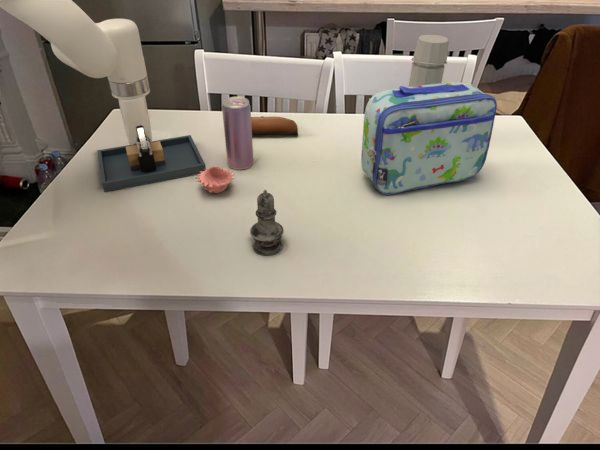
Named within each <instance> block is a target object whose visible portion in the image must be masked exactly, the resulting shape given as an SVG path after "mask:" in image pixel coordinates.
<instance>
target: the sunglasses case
mask: <svg viewBox="0 0 600 450" xmlns="http://www.w3.org/2000/svg"><path fill="white" fill-rule="evenodd" d="M251 125H252V135H253V134H255V135H269V134H270V135H288V134H289V135H291V134H292V135H296V136H299V134H298V129H299V128H298V124H297V123H296V122H295V120H293V119H289V118H287V117H283V116H264V115H263V116H251Z"/></svg>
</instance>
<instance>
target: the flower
mask: <svg viewBox="0 0 600 450" xmlns="http://www.w3.org/2000/svg"><path fill="white" fill-rule="evenodd" d="M205 170H206V171H203V172H201V171H199V172H201V174H196V175H195V176H197V177H195V179H196V183H197V182H198V183H199V185H200V186H203V188H204V190H207V192H209V193H211V194H220V193H222V192H223V191H225V190H226V189H227V186H228V185H229V183H231V182H232V180H234V178H233V177H234V176H235V174H233V171H230V168H227V169H225V167H224V166H223V167H220V166H210V167H208V168H206V169H205Z"/></svg>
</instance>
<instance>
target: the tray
mask: <svg viewBox="0 0 600 450" xmlns="http://www.w3.org/2000/svg"><path fill="white" fill-rule="evenodd" d="M157 141H160V143H161V146H162V149H163V153H164V159H165V164H166V165H162V166H156V170H153V171H148V172H141V169H140V170H134V171H131V168H130V164H129V160H128V155H127V151H126V147H127V146H133V145H134V144H132V145H130V144H127V145H121V146H115V147H110V148H104V149H97V150H96V151H97V158H98V167H99V173H100V181H101V186H102V189H103V192H104V193H107V192H113V191H118V190H123V189H128V188H134V187H139V186H143V185H149V184H154V183H159V182H165V181H169V180H175V179H181V178H184V177H191V176H197V175H196V174H201V172H203V171H206V170H205V169H207V166H206V163H205V161H204V159H203V157H202V155H201V153H200V151H199V149H198V147H197V145H196V143H195V141H194V138H193V137H192V135H191V134H188V135H181V136H176V137H170V138H163V139H158V140H152V141H151V142H157ZM151 142H150V143H151ZM199 171H201V172H199Z"/></svg>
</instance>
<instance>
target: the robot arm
mask: <svg viewBox="0 0 600 450" xmlns="http://www.w3.org/2000/svg"><path fill="white" fill-rule="evenodd" d="M0 8H1V9H2V10H4V11H5V12H7V13H8V14H9V15H10V16H13V17H14V18H15V19H17V20H19V21H20V22H23V23H24V24H25V25H26V26H29V27H30V28H32V29H33V30H34V31H36V32H37V33H38V34H39V35H40V36H42V37H43V38H44V39H45V40H46V41H48V42H49V43H50V47H51V51H52V52H53V55H55V57H56V58H57V59H58V60H60V62H62V63H63V64H65V65H66V66H69V67H70V68H72V69H73V70H75V71H77V72H80V73H81V74H83V75H84V76H87V77H89V78H93V79H104V78H106V77H107V80H108V85H109V89H110V93H111V96H112V97H113V98H114V99H117V100H118V105H119V110H120V115H121V119H122V123H123V127H124V130H125V135H126V139H127V143H128V145H133V144H134V145H137V150H138V154H139V155H138V159H139V164H140V168H141V172H148V171H153V170H156V165H155V160H154V155H153V153H152V151H151V146H150V142H151V141H153V135H152V127H151V120H150V113H149V110H148V104H147V99H146V96H148V95H149V94H150V92H151V89H150V84H149V79H148V73H147V72H148V71H147V68H146V63H145V58H144V53H143V49H142V48H143V46H142V42H141V37H140V32H139V31H140V30H139V28H138V26H137V24H136V22H135V21H134V20H131V19H127V18H110V19H105V20H103V21H101V22H95V21H93V19H91V17H90V16H89V15H88V14H87V13H86V12H85V11H84V10H82V8H81V7H80V6H79V5H78V4H77V3H76V2H74V1H73V0H0ZM139 145H141V148H140V147H139ZM147 145H148V146H147Z"/></svg>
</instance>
